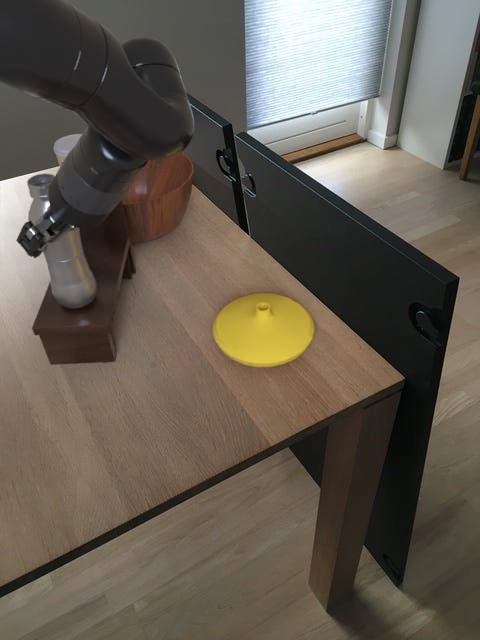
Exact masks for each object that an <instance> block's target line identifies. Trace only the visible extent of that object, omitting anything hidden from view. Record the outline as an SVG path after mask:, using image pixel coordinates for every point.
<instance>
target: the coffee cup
mask: <svg viewBox="0 0 480 640" xmlns="http://www.w3.org/2000/svg"><path fill="white" fill-rule="evenodd" d="M81 135H82V133H74V134H69V135H65V136H63V137H61V138H58V139H57V140H56V141H55V142H54V144H53V153H54V154H55V156H56V159H57V163H58V165H59V168H60V167H61V165H62V163H63V162H64V160H65V158H66V156H67V155H68V153H69V152H70V151H71V150H72V149H73V148H74V147H75V146H76V144H77V142H78V140H79V139H80V137H81Z"/></svg>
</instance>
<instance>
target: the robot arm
mask: <svg viewBox="0 0 480 640" xmlns="http://www.w3.org/2000/svg"><path fill="white" fill-rule="evenodd" d="M0 83H2V84H4V85H5V86H8V87H10V88H12V89H15V90H16V91H19V92H21V93H24V94H27V95H29V96H31V97H34V98H36V99H38V100H42V101H44V102H46V103H48V104H51V105H53V106H55V107H58V108H62V109H63V110H66V111H69V112H71V113H73V114H75V116H76V117H78V118H79V119H80V120H81V121H82V122H83V123H84V124H85V125H87V126H86V127H85V129H84V131H83V132H82V133H81V134H82V135H81V137H80V139H79V140H78V142H77V144H76V146H75V147H74V148H73V149H72V150H71V151H70V152H69V153H68V155H67V156H66V158H65V160H64V162H63V163H62V165H61V167H60V166H59V169H58V170H57V172H56V173H55V175H54V176H55V177H54V179H53V181H52V183H51V185H50V187H49V194H48V195H49V203H50V205H49V206H48V208H47V211H46V212H45V213H44V214H43V215H42V216H41V217H40V218H39V219H38V220H37V221H36V222H35V225H34V223H32V221H26V222H25V223H24V224H23V225H22V227H21V229H20V232H19V234H18V236H17V238H16V239H15V240H16V242H17V243H18V245H20V246H21V248H22V249H23V250H24V251H25V253H26V254H27V256H29V257H31V258H34V259H37V258H38V257H40V256H41V255H42V253H43V250H44V249H45V247H46V246H47V245H48V244H49V243H54V242H57V241H59V240H60V239H61V238H62V237H63V236H64V235H65V234H66V233H68V232H70V231H72V230H74V229H75V228H76V227H77V228H79V229H80V230H81V229H82V228H93V227H96V226H98V225H100V224H101V223H102V222H103V221H104V220H105V219H106V218H107V217H108V215H109V214H110V213H111V212H112V211H113V209H114V208H115V207H116V206H117V205H118V203H119V202H120V201H121V200H122V199H123V197H124V196H125V194H126V193H127V191H128V189H129V187H130V185H131V184H132V183H133V182H134V181H135V179H136V178H137V177H138V176H139V175H140V173H141V172H142V171H143V169H144V168H145V166H146V165H147V162H148V160H152V161H159V160H166V159H169V158H172V157H175V156H177V155H178V154H180V153H183V152H184V151H185V150H186V149H187V148H188V146H189V145H190V143H191V141H192V139H193V136H194V135H195V134H194V133H195V118H194V114H193V110H192V107H191V104H190V100H189V97H188V94H187V90H186V88H185V85H184V81H183V78H182V75H181V72H180V68H179V65H178V62H177V60H176V57H175V56H174V53H173V52H172V51H171V50H170V48H169V47H168V46H167V45H166V44H165V43H163V42H162V41H160V40H159V39H156V38H154V37H150V36H134V37H132V38H128V39H126V40H124V41H122V42H120V40H119V38H117V36H116V35H115V34H114V33H113V32H112V31H111V30H110V29H109V28H108V27H106V26H105V25H104V24H102V23H101V22H99V21H98V20H96V19H95V18H93V17H91V16H90V15H89V14H87V13H85V12H84V11H82V10H81V9H79V8H77V7H76V6H74V5H73V4H71V3H69V2H68V1H66V0H0ZM53 230H54V231H60V232H59V233H58V234H55V233H54V231H53ZM43 235H44V236H45V237H44V236H43ZM45 238H46V239H45ZM43 240H44V241H43Z"/></svg>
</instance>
